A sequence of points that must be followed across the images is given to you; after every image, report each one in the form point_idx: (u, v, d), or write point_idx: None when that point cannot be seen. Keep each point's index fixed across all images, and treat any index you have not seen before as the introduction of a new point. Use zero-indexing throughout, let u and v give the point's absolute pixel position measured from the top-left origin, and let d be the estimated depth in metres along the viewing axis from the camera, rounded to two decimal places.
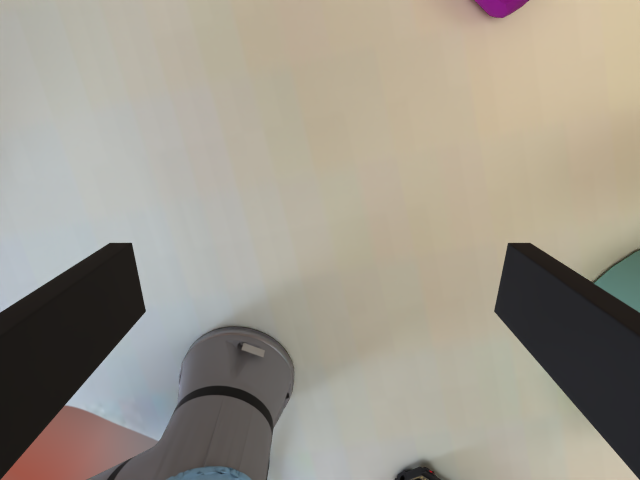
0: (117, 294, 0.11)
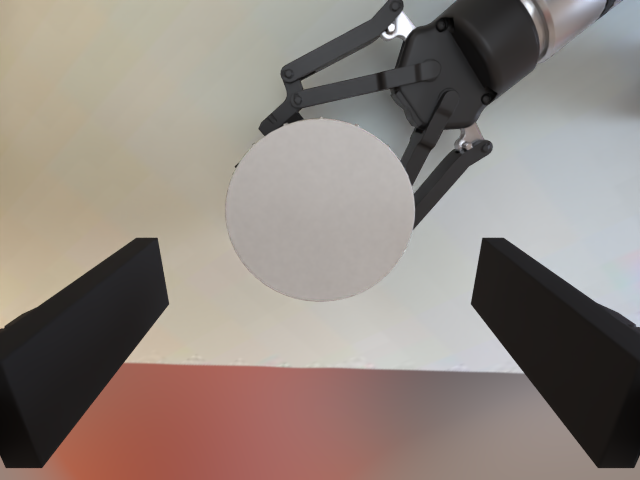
0: (145, 286, 0.12)
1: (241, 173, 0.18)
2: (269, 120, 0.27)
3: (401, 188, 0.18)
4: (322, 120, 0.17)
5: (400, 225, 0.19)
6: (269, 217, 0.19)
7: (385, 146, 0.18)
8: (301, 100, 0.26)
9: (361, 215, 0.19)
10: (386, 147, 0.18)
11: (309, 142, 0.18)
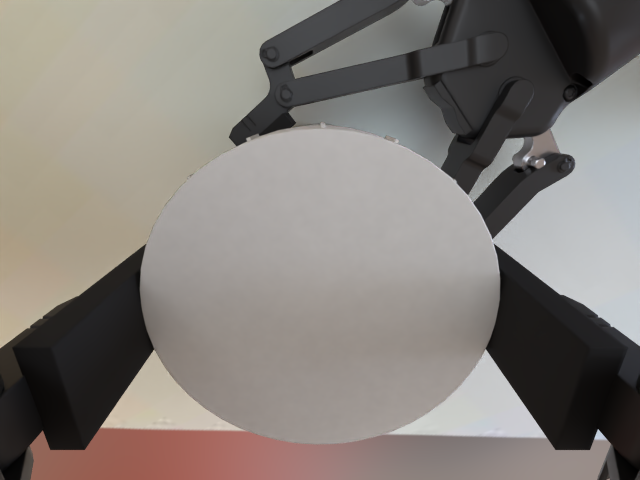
0: None
1: (165, 234, 0.09)
2: (244, 125, 0.18)
3: (477, 261, 0.10)
4: (325, 131, 0.08)
5: (470, 325, 0.10)
6: (224, 312, 0.10)
7: (452, 183, 0.09)
8: (291, 95, 0.17)
9: (398, 308, 0.10)
10: (454, 185, 0.09)
11: (298, 176, 0.09)
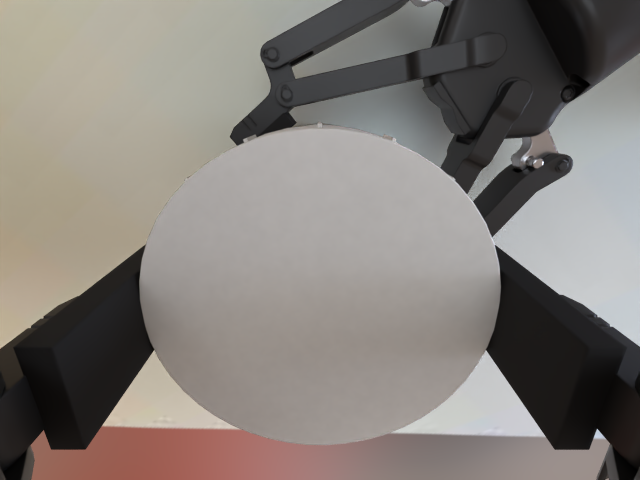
0: None
1: (192, 387, 0.11)
2: (245, 124, 0.19)
3: (333, 151, 0.08)
4: (149, 240, 0.09)
5: (409, 184, 0.09)
6: (279, 382, 0.11)
7: (235, 150, 0.08)
8: (292, 95, 0.18)
9: (349, 247, 0.09)
10: (238, 149, 0.08)
11: (180, 276, 0.10)
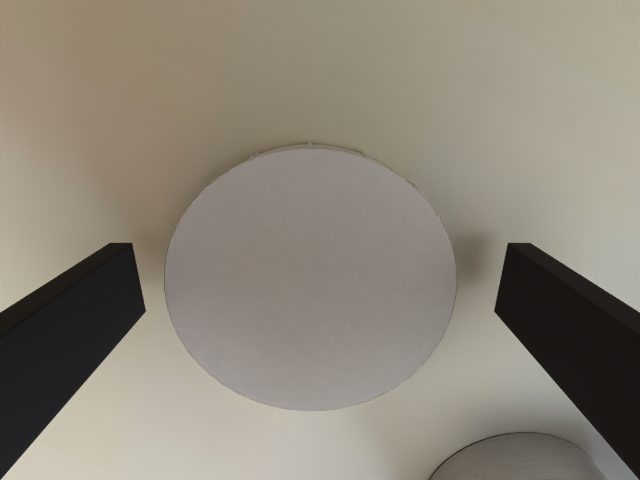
0: (117, 294, 0.11)
1: (205, 360, 0.13)
2: None
3: (320, 166, 0.11)
4: (173, 237, 0.12)
5: (380, 191, 0.11)
6: (277, 355, 0.13)
7: (243, 165, 0.11)
8: None
9: (333, 242, 0.12)
10: (245, 164, 0.11)
11: (197, 266, 0.12)
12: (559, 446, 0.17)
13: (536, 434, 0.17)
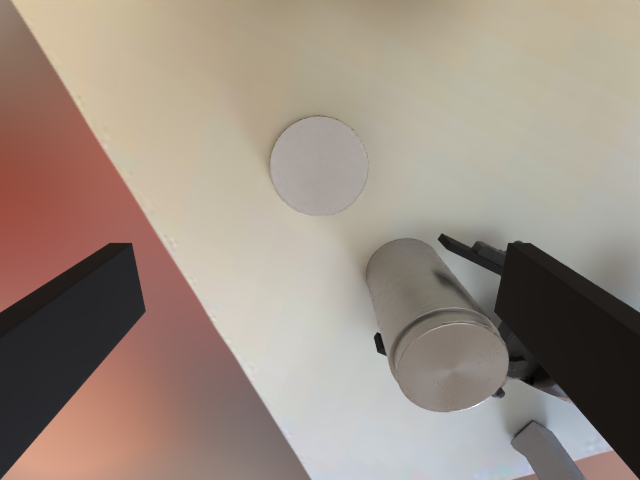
0: (117, 294, 0.11)
1: (281, 193, 0.38)
2: (490, 251, 0.35)
3: (322, 122, 0.35)
4: (274, 146, 0.36)
5: (341, 130, 0.35)
6: (307, 191, 0.38)
7: (298, 122, 0.35)
8: None
9: (326, 147, 0.36)
10: (299, 121, 0.35)
11: (281, 156, 0.36)
12: (419, 242, 0.41)
13: (411, 239, 0.41)
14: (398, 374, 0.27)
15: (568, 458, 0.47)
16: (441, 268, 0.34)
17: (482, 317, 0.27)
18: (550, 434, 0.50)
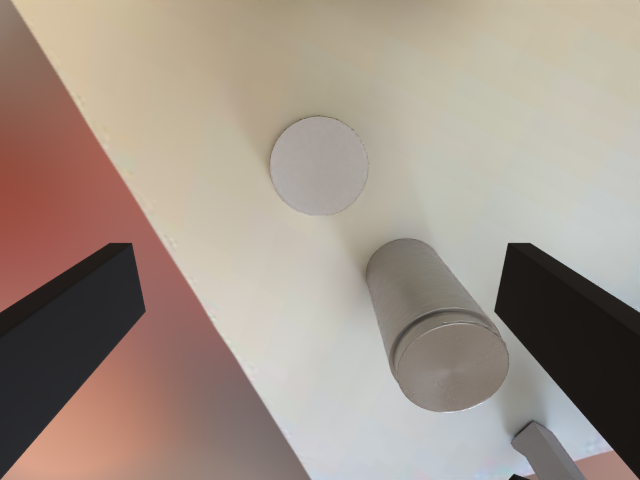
0: (117, 294, 0.11)
1: (281, 193, 0.38)
2: None
3: (322, 122, 0.35)
4: (274, 146, 0.36)
5: (341, 130, 0.35)
6: (307, 191, 0.38)
7: (298, 122, 0.35)
8: None
9: (326, 148, 0.36)
10: (299, 121, 0.35)
11: (281, 156, 0.36)
12: (419, 242, 0.41)
13: (411, 239, 0.41)
14: (398, 374, 0.27)
15: (568, 458, 0.47)
16: (441, 268, 0.34)
17: (482, 317, 0.27)
18: (550, 434, 0.50)
